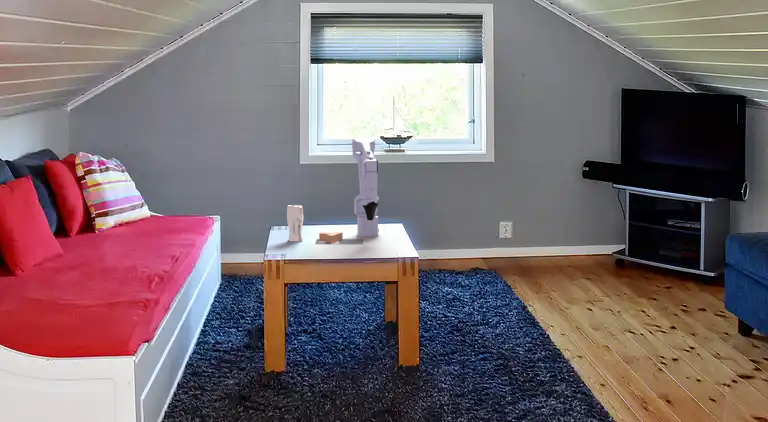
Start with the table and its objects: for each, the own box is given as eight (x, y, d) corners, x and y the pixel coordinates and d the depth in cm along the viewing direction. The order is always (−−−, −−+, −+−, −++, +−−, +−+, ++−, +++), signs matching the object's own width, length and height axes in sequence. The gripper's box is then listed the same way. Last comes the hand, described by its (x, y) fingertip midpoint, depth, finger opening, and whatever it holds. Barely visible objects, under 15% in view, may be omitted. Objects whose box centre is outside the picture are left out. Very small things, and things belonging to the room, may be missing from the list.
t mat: (363, 239, 322) (363, 239, 322) (363, 245, 310) (363, 244, 310) (316, 239, 321) (316, 238, 321) (314, 245, 309) (314, 244, 309)
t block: (342, 239, 321) (342, 232, 320) (332, 242, 312) (332, 235, 312) (326, 237, 324) (326, 231, 323) (315, 241, 316) (315, 234, 315)
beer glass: (290, 242, 314) (290, 207, 312) (284, 239, 320) (284, 205, 318) (305, 241, 317) (305, 206, 315) (300, 238, 324) (299, 204, 321)
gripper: (368, 185, 322) (368, 217, 324) (354, 189, 309) (354, 221, 311) (383, 186, 320) (383, 218, 322) (370, 190, 306) (370, 223, 308)
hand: (370, 220), depth 316 cm, fingers closed
